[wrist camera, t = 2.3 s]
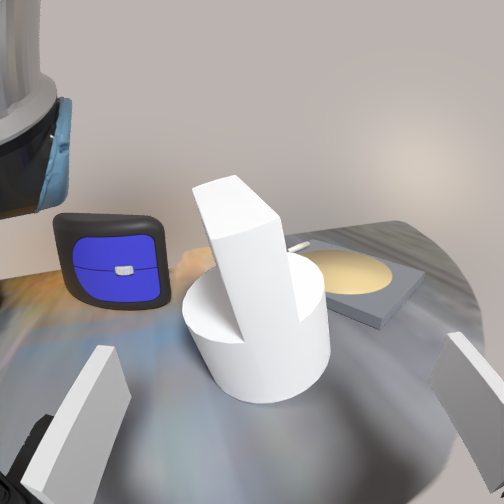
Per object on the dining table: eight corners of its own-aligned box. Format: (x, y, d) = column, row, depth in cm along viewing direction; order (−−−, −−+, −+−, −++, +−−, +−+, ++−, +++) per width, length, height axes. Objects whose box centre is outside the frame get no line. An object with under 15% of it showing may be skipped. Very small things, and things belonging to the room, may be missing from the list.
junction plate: (245, 273, 38) (245, 258, 38) (313, 246, 47) (313, 234, 47) (379, 329, 26) (383, 311, 25) (423, 280, 35) (426, 266, 34)
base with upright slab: (352, 371, 19) (345, 199, 13) (224, 421, 18) (140, 266, 12) (301, 298, 27) (276, 162, 21) (202, 334, 25) (148, 202, 20)
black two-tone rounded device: (49, 295, 32) (32, 220, 29) (73, 280, 36) (60, 210, 33) (153, 325, 28) (138, 227, 24) (176, 302, 32) (166, 213, 28)
